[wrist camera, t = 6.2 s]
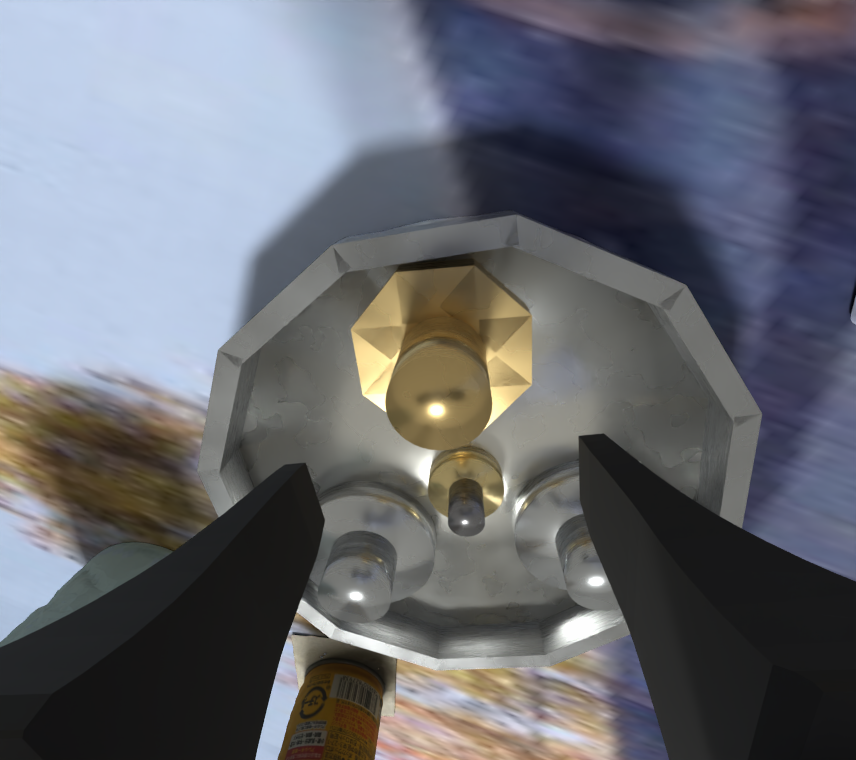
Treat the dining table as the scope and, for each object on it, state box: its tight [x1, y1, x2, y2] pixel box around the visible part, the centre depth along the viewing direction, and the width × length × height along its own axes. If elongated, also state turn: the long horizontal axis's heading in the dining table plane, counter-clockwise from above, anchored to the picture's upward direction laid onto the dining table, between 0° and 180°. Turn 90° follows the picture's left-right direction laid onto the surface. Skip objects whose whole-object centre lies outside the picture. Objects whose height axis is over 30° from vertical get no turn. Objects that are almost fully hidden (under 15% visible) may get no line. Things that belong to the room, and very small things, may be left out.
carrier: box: [197, 210, 762, 670], centre depth 21 cm, size 24×24×6 cm
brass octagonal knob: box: [351, 258, 532, 450], centre depth 16 cm, size 7×7×6 cm
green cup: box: [0, 542, 173, 647], centre depth 24 cm, size 10×10×12 cm
